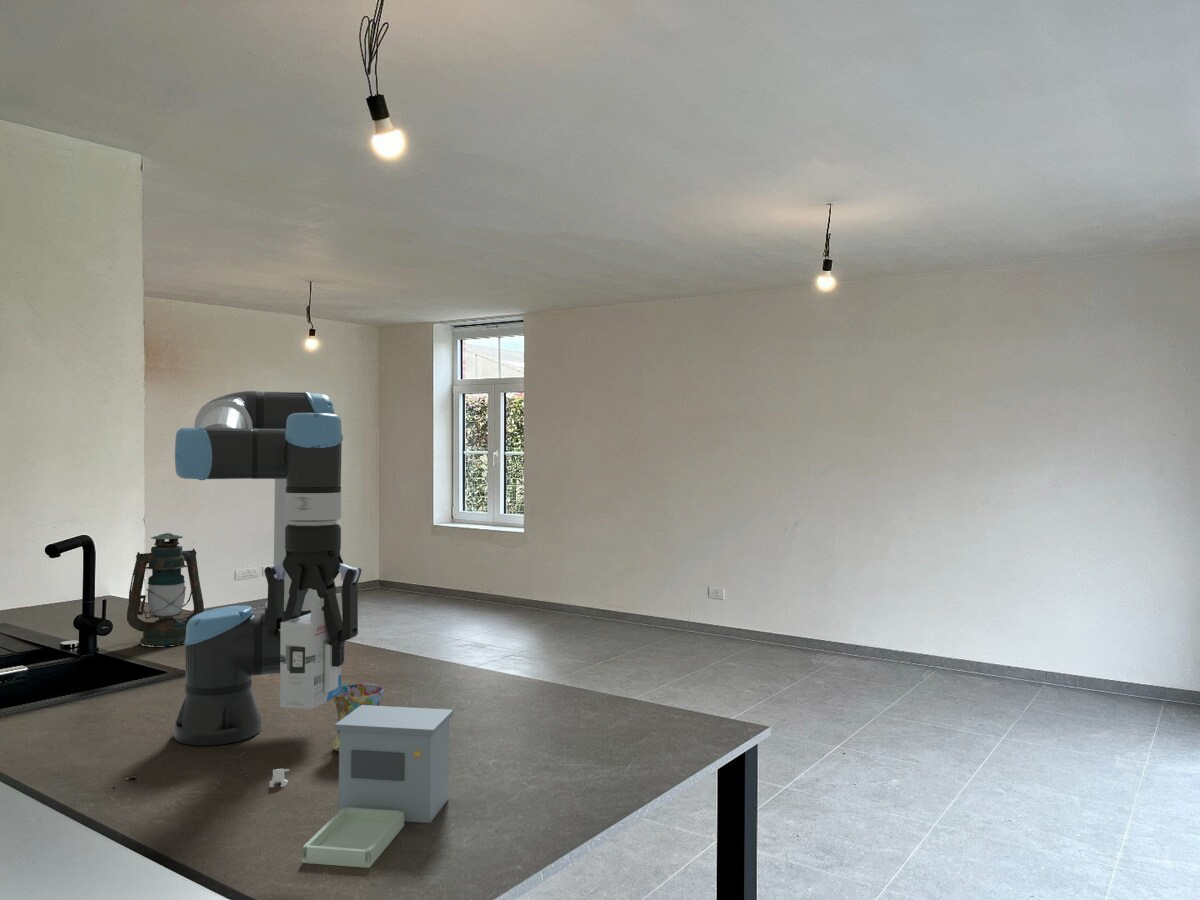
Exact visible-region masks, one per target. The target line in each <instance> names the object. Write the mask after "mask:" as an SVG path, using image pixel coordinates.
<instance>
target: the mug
mask: <svg viewBox="0 0 1200 900" xmlns="http://www.w3.org/2000/svg"><path fill="white" fill-rule="evenodd" d="M384 693H385V688H384V686H382V685H379V684H374V683H351V684H344V685H341V694H340V695H338V696H336V697H334V698H332V699H333V702H334V704H335V707H336V711H337V712H336V713H337V718H338V719H337V720H338V721H337V722H339V721H340V720H342V719H343V718H344V717H346V716H347V715H348V714H350V713H351V712H353V711H354V710H355V709H357V708H358V707H359V706H361V705H371V706H380V704H381V700H382V697H383V695H384ZM332 744H333V745H332V748H333V749H334V750H335V751H337V752H339V730H337V732H336V737H335V739H334V742H333V743H332Z"/></svg>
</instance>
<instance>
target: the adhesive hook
mask: <svg viewBox="0 0 1200 900" xmlns="http://www.w3.org/2000/svg"><path fill="white" fill-rule="evenodd" d="M289 771H290V768H277V769H272V778H271V780H269V784H268V785H269V788H274V787H275V783H280V788H284V787H286V786H287V785H288V782H289V779H285V772H289Z"/></svg>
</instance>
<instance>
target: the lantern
mask: <svg viewBox="0 0 1200 900" xmlns="http://www.w3.org/2000/svg"><path fill="white" fill-rule="evenodd" d="M182 538H184V536H182V535H177V534H173V533H171V532H165V533H163V534H158V535H155V536H151V537H150V539H153V540H155V542H154V544H153V545H154V546H152V547H150V552H146V553H140V551H137V554H136V556H135V558H136V560H135V564H134V567H133V570H132V576H131V581H130V586H129V592H128V606H127V610H126V621H127V624H128V625H129V626H130V627H131V628H132V629H134V630H136V631H139V632H142V634H143V635H142V637H141V638H140V641H139V644H140V643H142V644H144V645H151V646H152V645H153V646H170V645H178V644H183V643H184V642H185V640H186V627H187V623H188V621H189V620H190V619H191V618H192V617H193V616H195V615H197V614H199V613H202V612H205V607H204V606H205V605H204V599H203V593H202V587H201V583H200V576H199V568H198V561H197V553H198V552H197V551H196V549H195V548H192V549H191V550H183V546H181V545H180V542H179V539H182ZM167 540H168V541H167ZM185 562H186V565H185ZM147 565H148V566H147ZM183 568H187V573H188V574H187V575H188V579H189V584H190V585H189V587H190V593H189V597H188V600H187V601H186V603H185V598H186V589H187V586H185V585H186V584H185V583H186V580H185V575H183V574H182V569H183ZM146 570H151V573H152V575H150V576H149V577H148V579H147V580H148V581H147V585H148V588H146V591H147V595H144V594H143V595H142V591H143V586H144V580H145V575H146ZM191 597H192V604H193V612H189V613H184V612H183V611H184V610H183V608H184V607H185V606H186V605H187V604H188V603H189V602H190V601H191ZM146 598H147V605H148V607H149V611H146V610H145V602H146ZM143 614H144V617H145V619H147V620H148V619H149V620H150V619H151V618H156V619H157V620H155V621H152V622H151V621H149V622H148V621H144V620H142V619H140V618H139V617H138V615H139V616H143ZM147 614H149V616H148V617H147ZM179 616H183V617H181V618H178V617H179Z"/></svg>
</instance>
